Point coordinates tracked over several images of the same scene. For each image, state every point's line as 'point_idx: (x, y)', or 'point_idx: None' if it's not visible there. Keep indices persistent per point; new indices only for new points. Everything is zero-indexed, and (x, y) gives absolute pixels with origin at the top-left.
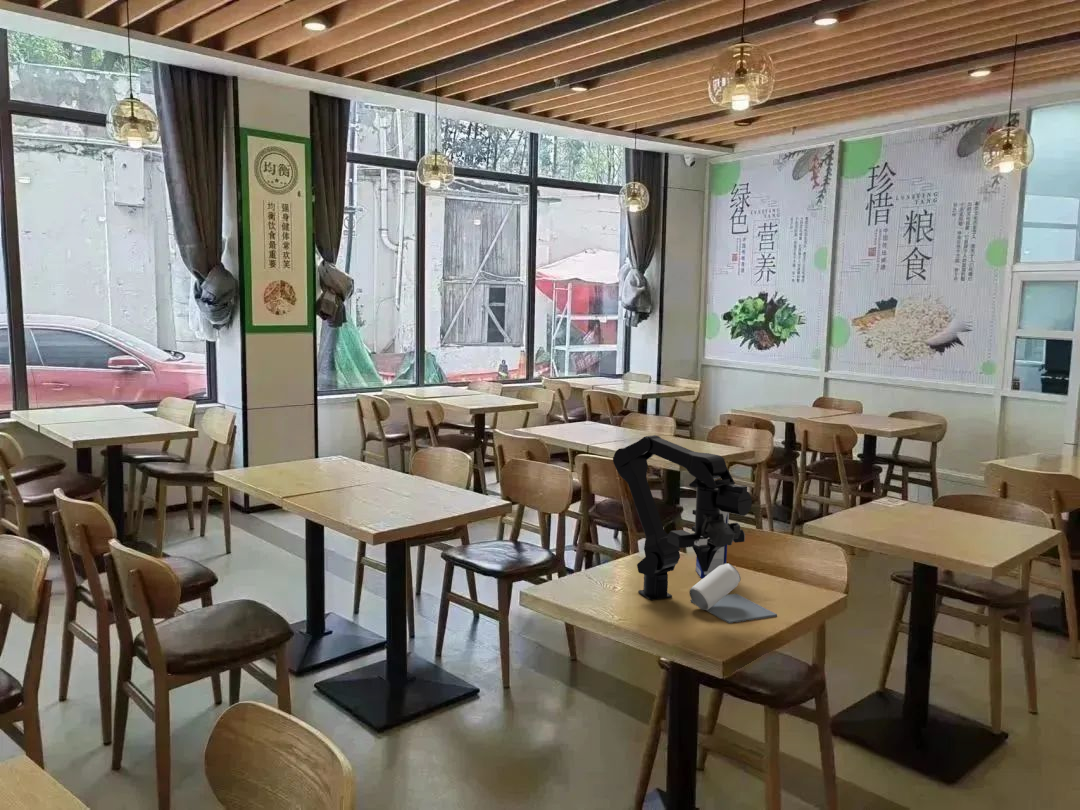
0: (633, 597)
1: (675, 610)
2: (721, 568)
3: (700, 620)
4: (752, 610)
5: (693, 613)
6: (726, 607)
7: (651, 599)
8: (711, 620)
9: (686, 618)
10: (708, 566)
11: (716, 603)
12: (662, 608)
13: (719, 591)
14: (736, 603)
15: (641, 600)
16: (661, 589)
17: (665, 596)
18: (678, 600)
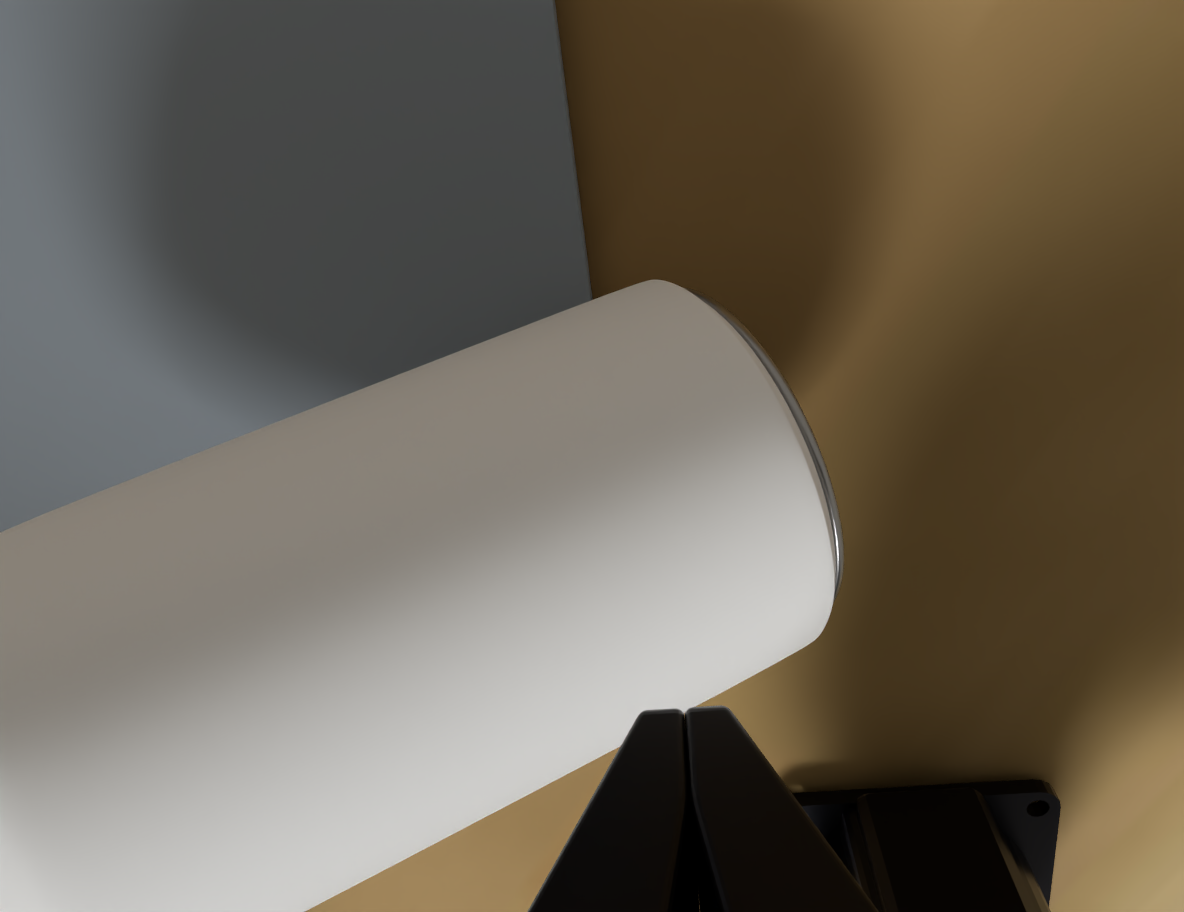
0: (1151, 879)
1: (970, 478)
2: (168, 845)
3: (876, 71)
4: (8, 195)
5: (814, 338)
6: (323, 375)
7: (1045, 784)
8: (723, 33)
9: (1016, 192)
10: (630, 790)
11: None
12: (1076, 565)
13: (431, 387)
14: (143, 468)
15: (1132, 802)
16: (972, 861)
17: (884, 794)
18: (747, 724)
